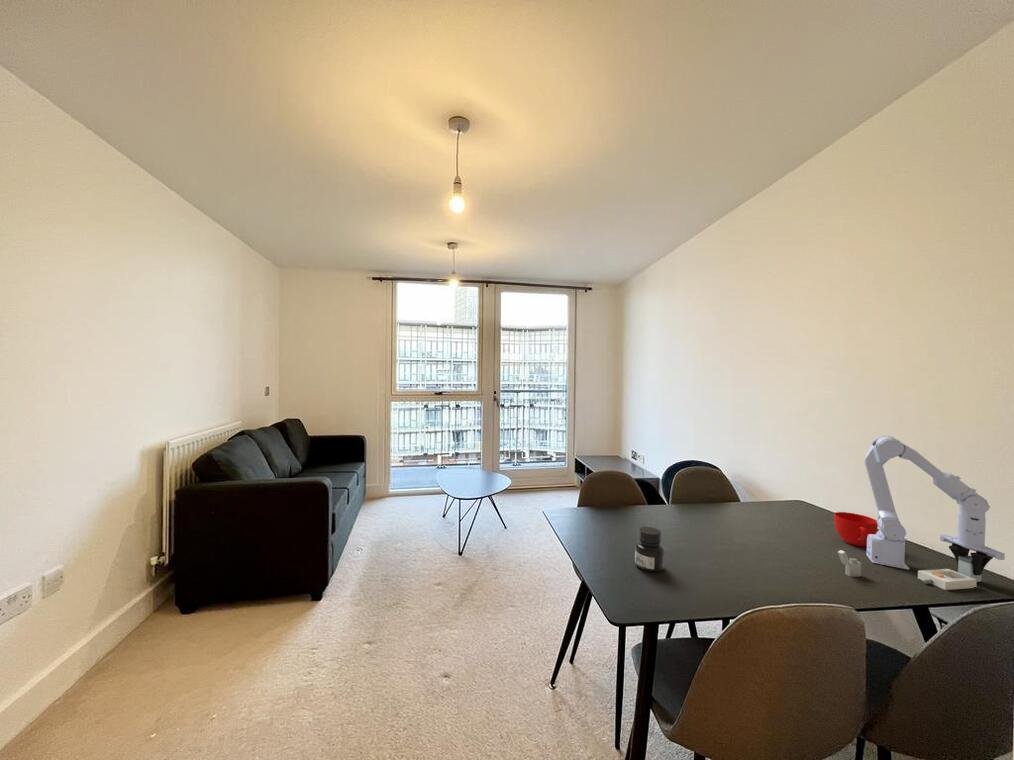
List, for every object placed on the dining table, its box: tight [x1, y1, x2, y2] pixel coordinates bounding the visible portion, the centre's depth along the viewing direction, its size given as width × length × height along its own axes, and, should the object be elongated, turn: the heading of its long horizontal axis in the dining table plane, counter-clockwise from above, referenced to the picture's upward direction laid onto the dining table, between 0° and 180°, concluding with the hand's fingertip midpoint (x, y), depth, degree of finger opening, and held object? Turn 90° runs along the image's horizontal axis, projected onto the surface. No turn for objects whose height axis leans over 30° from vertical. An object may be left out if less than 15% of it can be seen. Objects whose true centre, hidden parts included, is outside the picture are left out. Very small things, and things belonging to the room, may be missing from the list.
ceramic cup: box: [833, 511, 879, 547], centre depth 153 cm, size 13×17×10 cm
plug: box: [957, 555, 983, 583], centre depth 126 cm, size 4×3×7 cm, turn 99°
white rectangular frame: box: [917, 568, 978, 591], centre depth 124 cm, size 14×7×3 cm, turn 99°
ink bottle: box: [634, 526, 665, 573], centre depth 130 cm, size 10×9×12 cm
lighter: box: [837, 549, 862, 578], centre depth 128 cm, size 7×2×8 cm, turn 96°
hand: (969, 572), depth 126 cm, fingers closed on plug, 3 cm apart
